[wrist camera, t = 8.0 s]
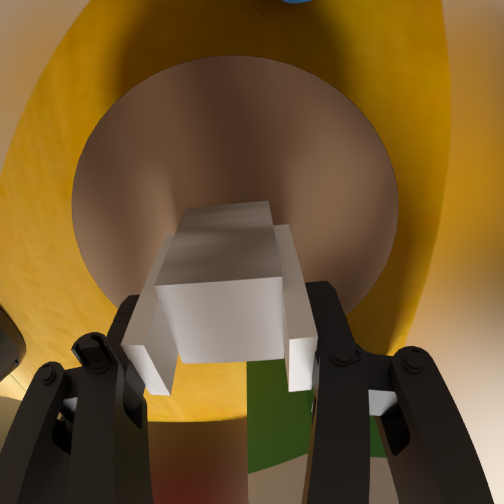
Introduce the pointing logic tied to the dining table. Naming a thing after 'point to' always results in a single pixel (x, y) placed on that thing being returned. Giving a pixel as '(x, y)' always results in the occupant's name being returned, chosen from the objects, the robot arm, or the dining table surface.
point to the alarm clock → (296, 1)
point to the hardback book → (292, 440)
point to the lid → (233, 199)
